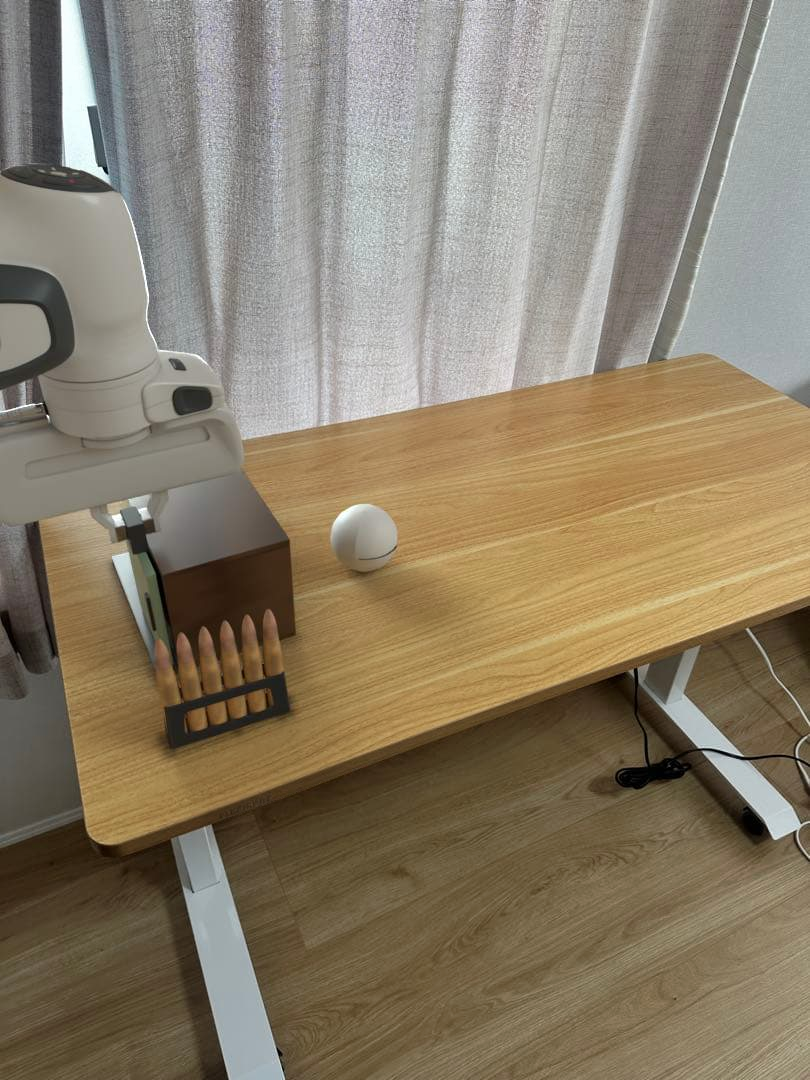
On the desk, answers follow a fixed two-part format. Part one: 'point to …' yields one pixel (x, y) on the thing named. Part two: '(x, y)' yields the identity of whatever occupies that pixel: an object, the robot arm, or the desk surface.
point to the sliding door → (145, 575)
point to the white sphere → (364, 537)
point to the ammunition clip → (221, 683)
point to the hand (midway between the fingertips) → (135, 533)
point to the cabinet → (214, 564)
